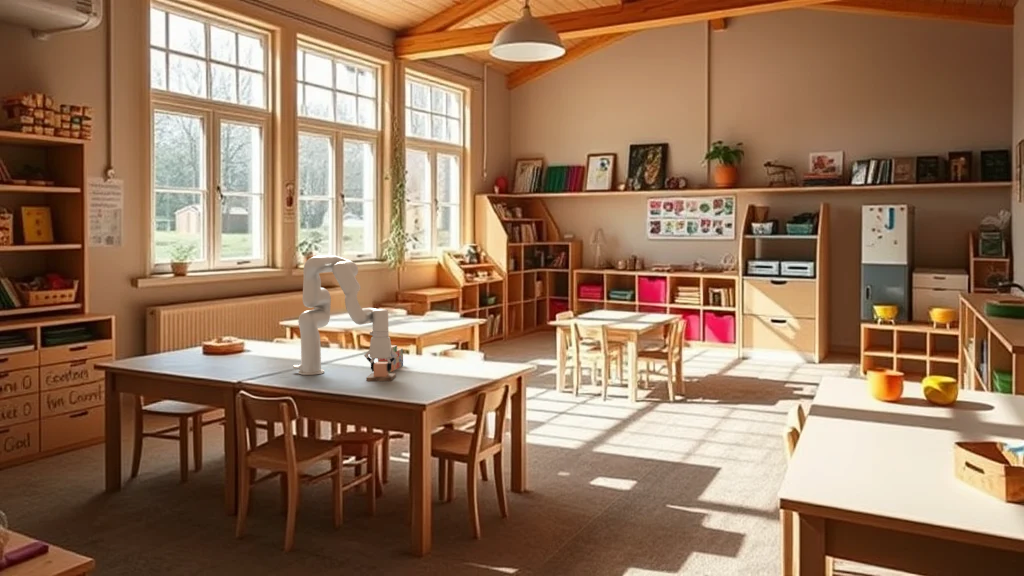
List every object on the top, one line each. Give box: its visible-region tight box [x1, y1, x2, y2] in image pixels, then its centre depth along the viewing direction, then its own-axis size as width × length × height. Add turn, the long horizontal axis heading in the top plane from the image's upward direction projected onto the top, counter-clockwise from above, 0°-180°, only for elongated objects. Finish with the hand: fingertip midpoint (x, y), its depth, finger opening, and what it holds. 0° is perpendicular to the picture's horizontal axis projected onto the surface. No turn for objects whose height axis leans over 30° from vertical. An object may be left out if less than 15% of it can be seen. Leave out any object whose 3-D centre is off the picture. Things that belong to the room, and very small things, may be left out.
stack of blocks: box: [377, 344, 404, 373], centre depth 424 cm, size 21×6×12 cm, turn 169°
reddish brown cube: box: [373, 361, 389, 377], centre depth 397 cm, size 6×6×6 cm
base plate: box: [365, 372, 397, 382], centre depth 397 cm, size 12×12×6 cm
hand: (381, 370), depth 397 cm, fingers open, 7 cm apart
